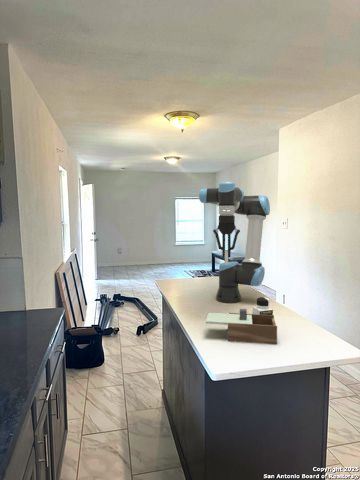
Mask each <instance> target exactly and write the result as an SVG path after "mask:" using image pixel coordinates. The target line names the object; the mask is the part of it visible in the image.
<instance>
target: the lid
mask: <svg viewBox="0 0 360 480" xmlns="http://www.w3.org/2000/svg"><path fill="white" fill-rule="evenodd" d="M239 313H240V314H229V313H223V312H222V313H220V312H219V313H217V312H208V314H207V317H206V320H205V324H211V325H226V326H228V323H238V324H252V315H247V314H248V311H247V308H239Z"/></svg>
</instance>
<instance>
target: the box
mask: <svg viewBox="0 0 360 480" xmlns="http://www.w3.org/2000/svg"><path fill="white" fill-rule="evenodd" d="M228 314H240V312H238V313H236V312H229V313H228ZM247 315H252V324H238V323H228V325H227V342H237V343H239V342H241V343H252V344H254V343H255V344H269V345H277V344H278V325H277V324H276V321H275V316H274V314H273V315H260V314H253V313H247Z"/></svg>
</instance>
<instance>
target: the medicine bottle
mask: <svg viewBox="0 0 360 480" xmlns="http://www.w3.org/2000/svg"><path fill="white" fill-rule="evenodd" d="M252 314H260V315H274V309H273V308H271V307H270V299H269V298H268V297H265V296H260V297H257V298H256V306H255V305H254V306H252Z"/></svg>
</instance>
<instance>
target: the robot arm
mask: <svg viewBox="0 0 360 480" xmlns="http://www.w3.org/2000/svg"><path fill="white" fill-rule="evenodd" d="M198 199H199V202H201V203H202V204H212V205H215V206H217V207H218V215H219V216H218V224H217V227H216V228H215V229H213V230H212V232H213V234H214V236H215V238H216V242H217V247H218V250H221V251H222V253H221V254H222V255H221V256H222V258H224V262H221V263H220V264H219V267H218V268H219V269H218V289H217V293H216V294H215V295H216V296H215V300H216V301H217V302H220V303H225V304H226V303H227V304H228V303H229V304H235V303H239V302H241V301H242V294H241V292H240V289H239V285H243V286H251V287H253V286H254V287H259V286H261V285H262V283H263V281H264V278H265V274H266V273H265V271H266V270H265V266H263V264H262V262H261V261H260V260H261V247H262V238H263V227H264V220H266V219H267V216H269V215H270V213H271V206H270V200H269V198H268V196H267V195H245V194H244V190H242V189H241V188H240V187H237V186H236V184H235V182H234V181H222V182H220V183H218V187H211V188H209V187H208V188H207V187H206V188H202V189H200V190H199V194H198ZM235 214H236V215H240V216H241V215H243V216H245V218H246V219H247V220H248V223H247V234H246V242H245V243H246V245H245V253H244V259H243V260H242V261H241V264H240V263H239V262H238V261H229V258H231V255H232V254H231V251H233V250H235V248H236V243H237V239H238V235H239V233H240V232H241V229H240V228H239V229H238V228H237V227H236V225H235V224H236V223H235V218H236V217H235ZM219 232H220V234H221V236H222V239H221V240H222V241H221V240H220V236H219ZM233 233H234V237H233V241H231V235H232V234H233ZM226 235H227V250H226ZM221 242H222V245H221ZM231 242H232V243H231ZM231 244H232V245H231Z"/></svg>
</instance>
